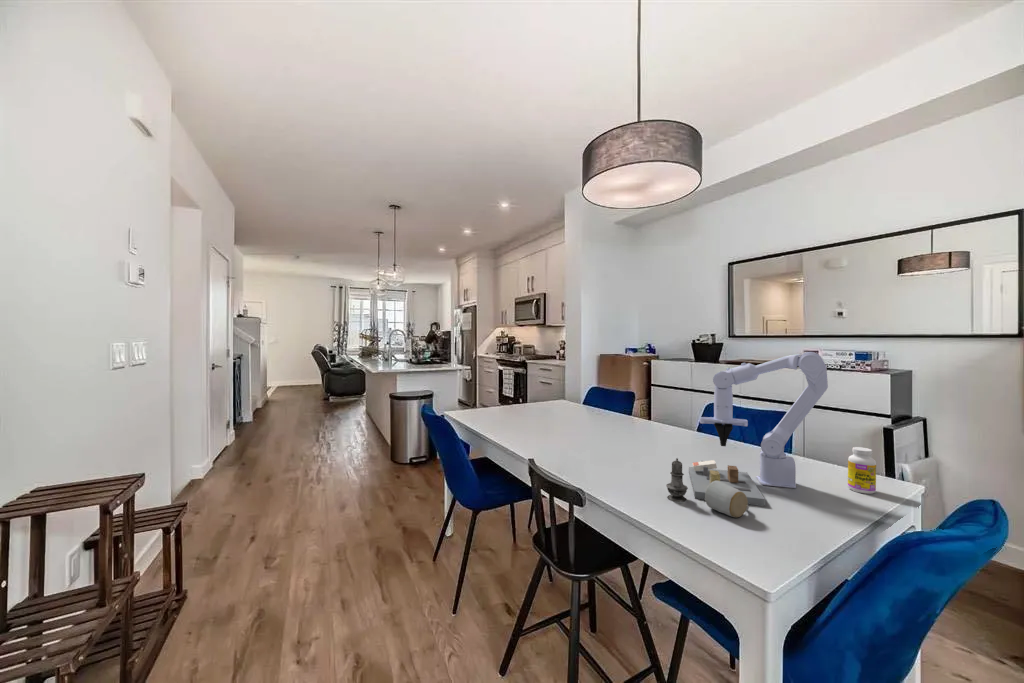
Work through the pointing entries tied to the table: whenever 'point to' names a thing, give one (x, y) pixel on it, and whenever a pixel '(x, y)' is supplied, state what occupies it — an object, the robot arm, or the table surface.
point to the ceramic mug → (726, 499)
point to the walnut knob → (733, 474)
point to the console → (745, 483)
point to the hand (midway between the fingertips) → (723, 445)
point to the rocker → (699, 465)
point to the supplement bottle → (862, 471)
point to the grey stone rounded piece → (677, 483)
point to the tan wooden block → (714, 476)
